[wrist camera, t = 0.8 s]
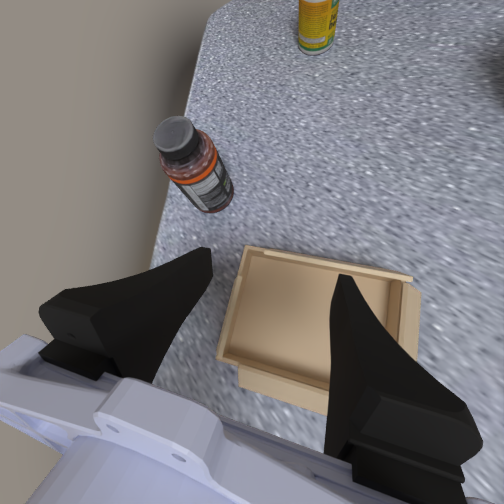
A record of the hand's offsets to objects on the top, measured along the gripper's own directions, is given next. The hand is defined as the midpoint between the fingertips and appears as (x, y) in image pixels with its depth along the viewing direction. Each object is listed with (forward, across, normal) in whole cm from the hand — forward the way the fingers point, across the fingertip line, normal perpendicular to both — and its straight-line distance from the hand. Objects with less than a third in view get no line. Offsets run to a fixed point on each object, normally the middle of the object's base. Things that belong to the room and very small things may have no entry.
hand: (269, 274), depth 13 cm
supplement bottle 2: (+39, +3, -16) cm, 42 cm away
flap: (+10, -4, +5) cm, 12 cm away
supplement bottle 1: (+18, +12, +3) cm, 22 cm away
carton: (+7, -4, +12) cm, 15 cm away
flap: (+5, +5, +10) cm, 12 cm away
